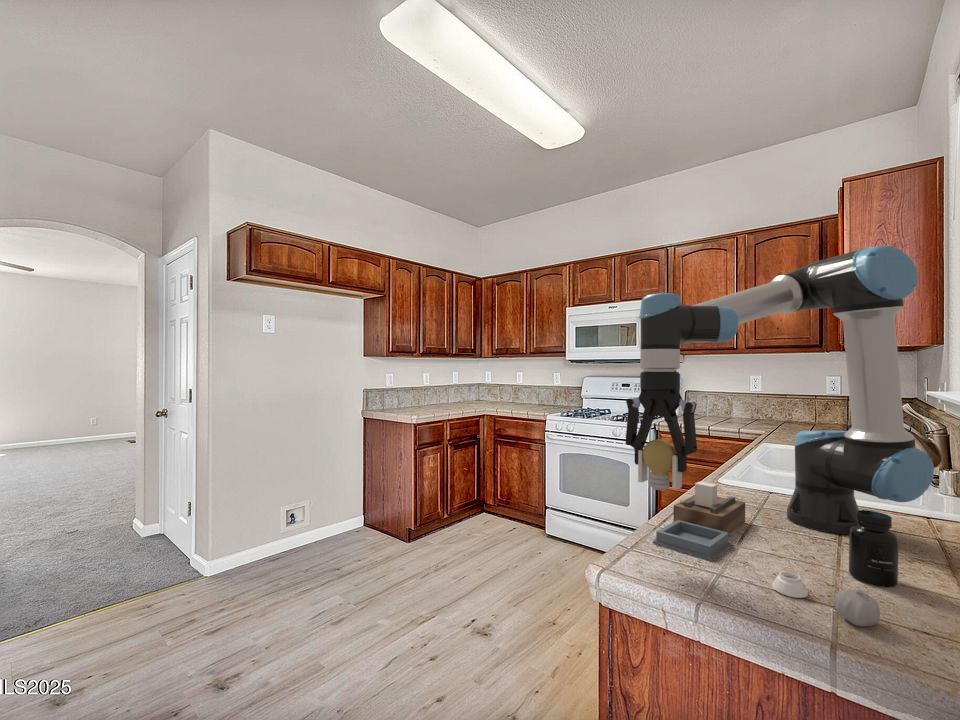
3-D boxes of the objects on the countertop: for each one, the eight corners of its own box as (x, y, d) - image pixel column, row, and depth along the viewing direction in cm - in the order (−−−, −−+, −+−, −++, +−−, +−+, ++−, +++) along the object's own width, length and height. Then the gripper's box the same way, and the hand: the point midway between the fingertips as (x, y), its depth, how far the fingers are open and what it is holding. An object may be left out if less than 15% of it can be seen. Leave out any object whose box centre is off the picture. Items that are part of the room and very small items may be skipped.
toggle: (716, 505, 108) (717, 484, 108) (712, 508, 106) (712, 486, 106) (699, 501, 111) (699, 481, 111) (694, 504, 109) (694, 483, 109)
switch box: (745, 522, 112) (745, 498, 112) (722, 539, 101) (722, 512, 101) (699, 511, 120) (699, 489, 120) (673, 526, 109) (673, 501, 109)
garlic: (890, 636, 65) (890, 600, 65) (845, 629, 66) (845, 594, 67) (868, 615, 71) (868, 581, 71) (827, 608, 72) (827, 576, 72)
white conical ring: (811, 602, 74) (803, 588, 79) (811, 584, 74) (803, 571, 79) (776, 596, 76) (769, 583, 81) (776, 579, 76) (769, 566, 81)
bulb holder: (731, 544, 98) (731, 532, 98) (711, 561, 89) (711, 548, 89) (676, 529, 106) (676, 518, 106) (652, 543, 98) (653, 531, 98)
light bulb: (680, 494, 87) (680, 442, 87) (645, 492, 89) (645, 441, 89) (672, 485, 94) (673, 437, 94) (640, 483, 95) (640, 436, 95)
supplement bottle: (881, 591, 78) (881, 521, 78) (839, 573, 85) (839, 509, 85) (908, 585, 80) (908, 518, 80) (865, 569, 87) (866, 506, 87)
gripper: (717, 371, 87) (717, 490, 87) (625, 369, 101) (624, 472, 101) (702, 371, 82) (702, 498, 82) (607, 370, 96) (607, 478, 96)
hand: (659, 484), depth 91 cm, fingers closed on light bulb, 6 cm apart
